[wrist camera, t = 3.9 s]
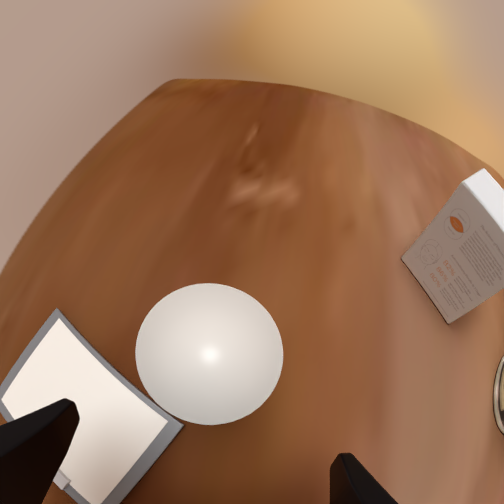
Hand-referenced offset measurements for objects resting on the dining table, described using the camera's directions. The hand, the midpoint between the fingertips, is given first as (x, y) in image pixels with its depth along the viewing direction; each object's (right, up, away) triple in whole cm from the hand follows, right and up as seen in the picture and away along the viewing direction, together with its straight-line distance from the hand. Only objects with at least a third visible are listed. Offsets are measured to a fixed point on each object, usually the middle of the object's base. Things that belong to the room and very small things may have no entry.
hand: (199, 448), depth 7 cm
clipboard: (-11, -6, +7) cm, 14 cm away
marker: (0, -3, +10) cm, 10 cm away
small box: (+19, +4, +16) cm, 25 cm away
